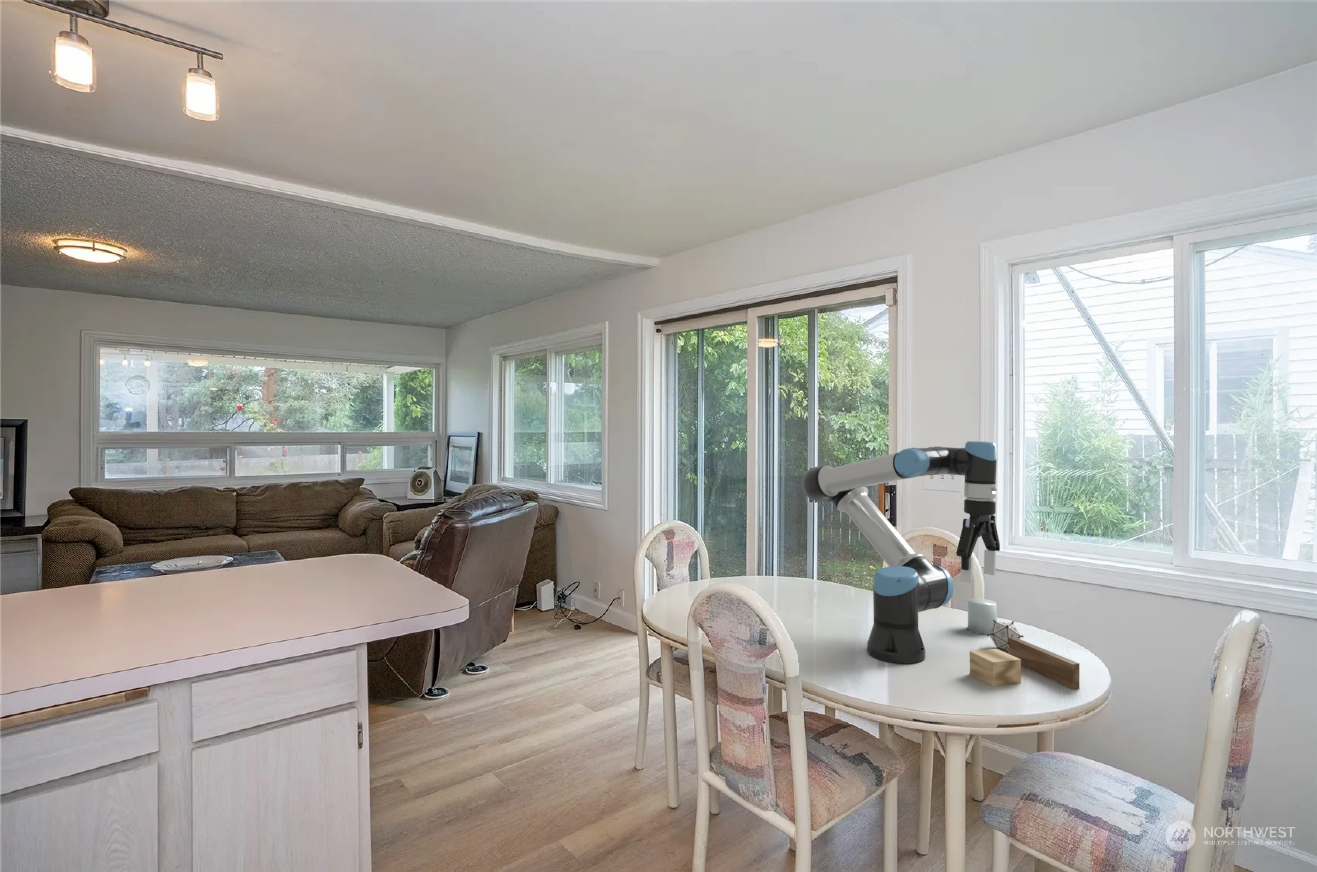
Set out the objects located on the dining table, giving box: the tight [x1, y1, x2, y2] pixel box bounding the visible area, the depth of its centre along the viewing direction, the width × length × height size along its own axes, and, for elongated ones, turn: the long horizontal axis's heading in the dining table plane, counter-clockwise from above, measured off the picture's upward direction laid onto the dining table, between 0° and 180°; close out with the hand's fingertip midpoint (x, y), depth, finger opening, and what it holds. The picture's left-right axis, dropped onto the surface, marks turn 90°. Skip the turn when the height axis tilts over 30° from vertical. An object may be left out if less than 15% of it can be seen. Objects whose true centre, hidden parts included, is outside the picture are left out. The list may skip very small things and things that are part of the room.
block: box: [969, 648, 1022, 687], centre depth 158 cm, size 8×8×6 cm
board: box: [1008, 637, 1080, 690], centre depth 161 cm, size 2×20×6 cm, turn 13°
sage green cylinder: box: [967, 597, 998, 636], centre depth 195 cm, size 8×8×9 cm
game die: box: [986, 620, 1025, 650], centre depth 178 cm, size 9×8×10 cm
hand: (978, 578), depth 169 cm, fingers open, 13 cm apart
